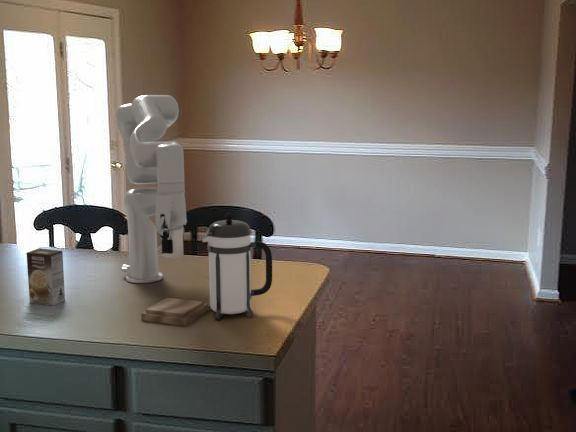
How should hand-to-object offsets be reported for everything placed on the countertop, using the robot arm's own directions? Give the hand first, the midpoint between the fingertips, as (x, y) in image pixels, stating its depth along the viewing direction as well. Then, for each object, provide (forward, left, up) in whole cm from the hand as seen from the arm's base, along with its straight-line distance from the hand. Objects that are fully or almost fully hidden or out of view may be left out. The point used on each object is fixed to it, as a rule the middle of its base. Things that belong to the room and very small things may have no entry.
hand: (173, 250), depth 198 cm
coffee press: (+15, +8, -20) cm, 26 cm away
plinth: (0, 0, -20) cm, 20 cm away
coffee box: (-44, -2, -20) cm, 48 cm away
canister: (0, 0, -2) cm, 2 cm away
